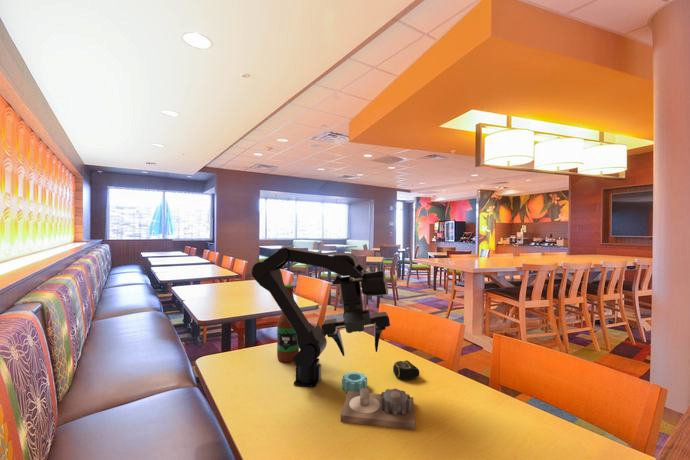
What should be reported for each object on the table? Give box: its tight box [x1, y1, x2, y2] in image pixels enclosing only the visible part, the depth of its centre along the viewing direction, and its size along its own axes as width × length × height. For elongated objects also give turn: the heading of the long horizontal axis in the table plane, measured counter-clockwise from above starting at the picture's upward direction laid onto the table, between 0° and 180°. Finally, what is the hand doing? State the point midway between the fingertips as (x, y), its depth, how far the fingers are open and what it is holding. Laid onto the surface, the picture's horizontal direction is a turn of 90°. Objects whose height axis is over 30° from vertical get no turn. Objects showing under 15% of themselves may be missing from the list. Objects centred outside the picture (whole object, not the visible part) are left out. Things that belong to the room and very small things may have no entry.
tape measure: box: [392, 360, 420, 380], centre depth 97 cm, size 7×7×4 cm
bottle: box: [276, 284, 300, 363], centre depth 109 cm, size 7×7×25 cm
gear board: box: [340, 387, 416, 431], centre depth 79 cm, size 17×11×5 cm, turn 80°
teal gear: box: [341, 371, 368, 393], centre depth 90 cm, size 7×7×3 cm
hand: (360, 353), depth 90 cm, fingers open, 9 cm apart
